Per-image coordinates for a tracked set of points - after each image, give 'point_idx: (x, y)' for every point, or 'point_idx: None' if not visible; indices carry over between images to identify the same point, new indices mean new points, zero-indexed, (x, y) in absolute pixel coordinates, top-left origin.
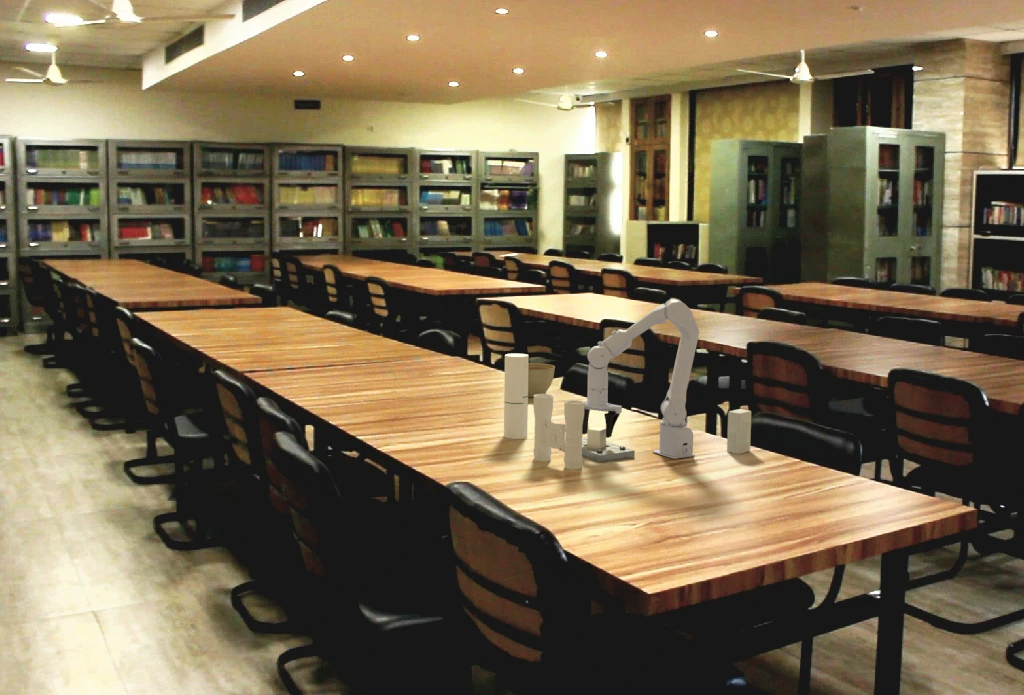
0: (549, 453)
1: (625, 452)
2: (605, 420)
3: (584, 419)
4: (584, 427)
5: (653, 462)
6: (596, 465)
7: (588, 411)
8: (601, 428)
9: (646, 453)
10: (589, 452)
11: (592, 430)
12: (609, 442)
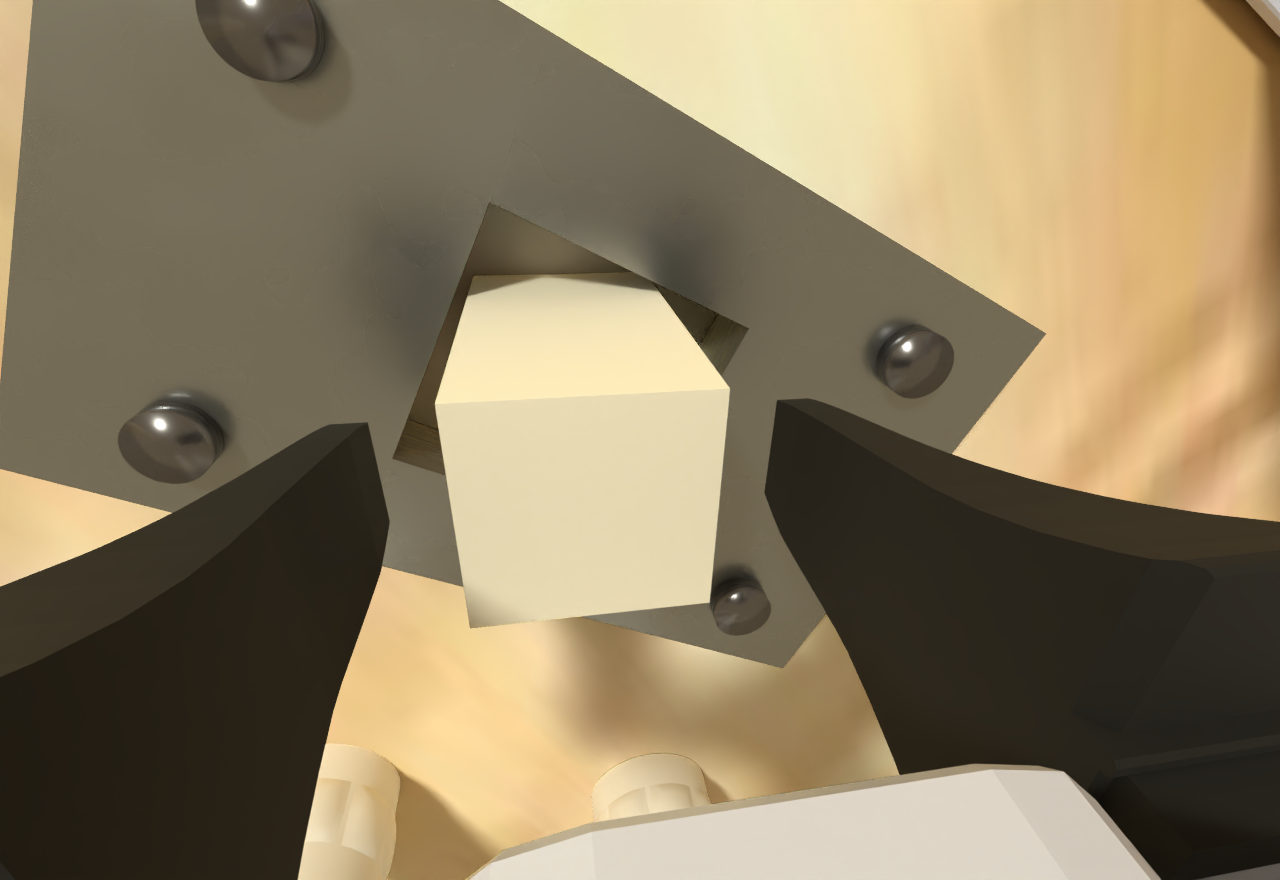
0: (394, 840)
1: (956, 437)
2: (899, 772)
3: (294, 722)
4: (354, 589)
5: (1169, 369)
6: (765, 685)
7: (105, 736)
8: (653, 454)
9: (1103, 23)
10: (641, 626)
11: (568, 607)
12: (628, 89)
